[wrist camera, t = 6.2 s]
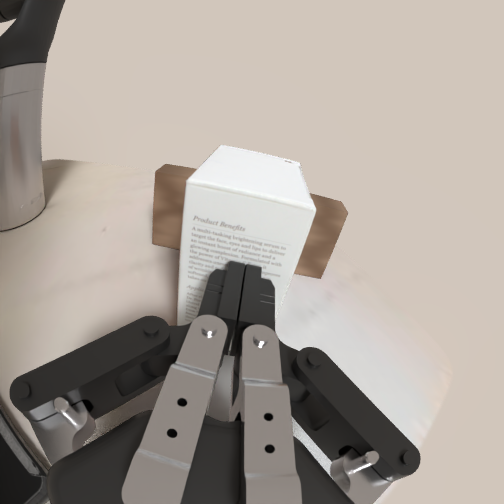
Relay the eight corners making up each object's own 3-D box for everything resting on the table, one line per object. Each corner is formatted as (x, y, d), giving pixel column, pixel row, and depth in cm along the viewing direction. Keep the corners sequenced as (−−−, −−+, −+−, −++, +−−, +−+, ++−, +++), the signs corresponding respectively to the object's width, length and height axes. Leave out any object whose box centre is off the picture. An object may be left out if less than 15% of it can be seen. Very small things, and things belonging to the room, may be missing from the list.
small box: (201, 268, 23) (219, 142, 17) (266, 281, 23) (301, 160, 17) (173, 341, 16) (182, 176, 10) (261, 360, 16) (319, 206, 11)
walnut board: (152, 243, 24) (155, 171, 20) (160, 231, 26) (165, 163, 22) (320, 278, 25) (348, 212, 21) (317, 263, 27) (341, 201, 23)
